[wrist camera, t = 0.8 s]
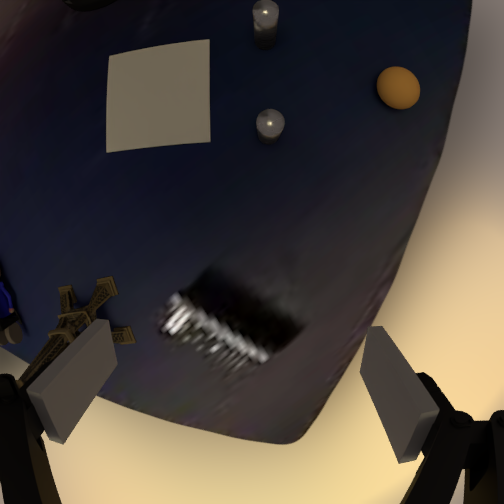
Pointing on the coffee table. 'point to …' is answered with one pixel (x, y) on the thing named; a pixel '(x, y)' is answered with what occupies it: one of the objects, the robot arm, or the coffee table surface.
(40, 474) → the robot arm
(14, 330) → the figurine character
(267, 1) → the post
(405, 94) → the ball
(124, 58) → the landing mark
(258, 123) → the post
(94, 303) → the eiffel tower
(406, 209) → the coffee table surface
